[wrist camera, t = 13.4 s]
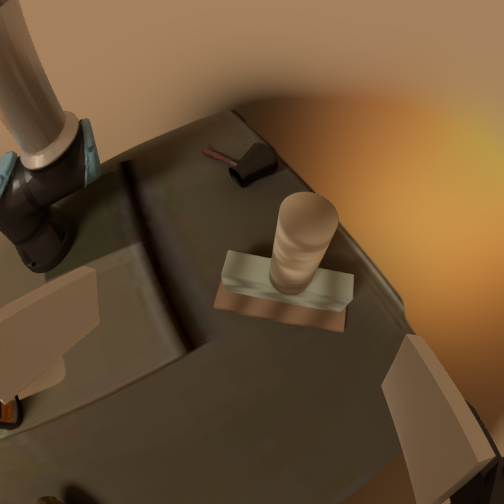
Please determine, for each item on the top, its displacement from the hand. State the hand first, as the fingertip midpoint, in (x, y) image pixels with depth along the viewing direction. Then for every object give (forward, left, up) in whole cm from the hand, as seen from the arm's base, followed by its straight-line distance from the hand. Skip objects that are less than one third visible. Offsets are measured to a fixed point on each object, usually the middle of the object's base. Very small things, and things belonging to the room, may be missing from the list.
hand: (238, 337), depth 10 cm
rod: (-5, +15, -25) cm, 29 cm away
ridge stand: (-5, +15, -32) cm, 35 cm away
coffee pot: (-32, +32, -32) cm, 55 cm away
